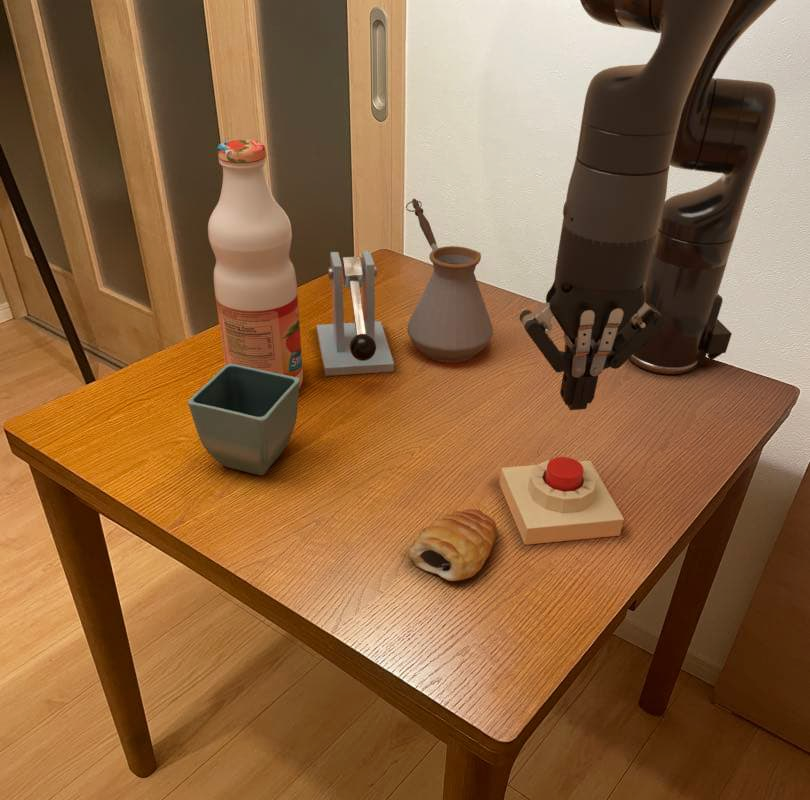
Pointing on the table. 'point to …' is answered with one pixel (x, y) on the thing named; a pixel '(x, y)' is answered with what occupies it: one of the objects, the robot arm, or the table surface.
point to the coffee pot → (449, 304)
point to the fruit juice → (254, 266)
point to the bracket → (352, 326)
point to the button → (564, 474)
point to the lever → (357, 309)
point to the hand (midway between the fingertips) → (575, 405)
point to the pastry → (455, 544)
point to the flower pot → (246, 416)
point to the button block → (559, 506)
